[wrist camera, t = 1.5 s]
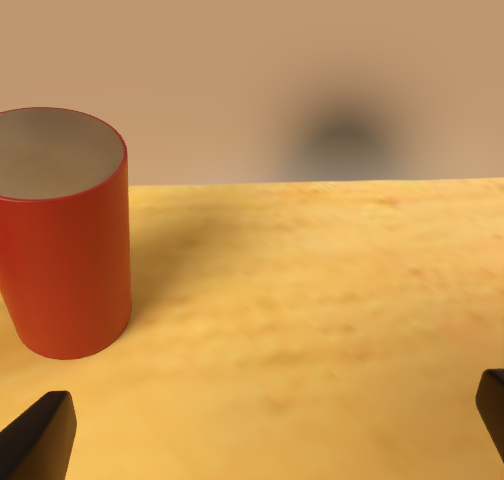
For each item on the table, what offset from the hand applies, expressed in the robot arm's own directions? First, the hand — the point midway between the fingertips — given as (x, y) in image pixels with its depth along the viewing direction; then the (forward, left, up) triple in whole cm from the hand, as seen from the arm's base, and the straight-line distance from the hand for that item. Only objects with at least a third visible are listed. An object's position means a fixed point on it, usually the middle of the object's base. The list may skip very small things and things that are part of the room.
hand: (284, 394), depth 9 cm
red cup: (+4, +13, -15) cm, 20 cm away
